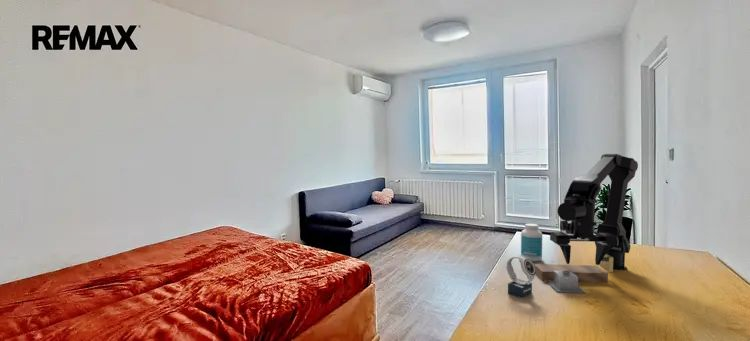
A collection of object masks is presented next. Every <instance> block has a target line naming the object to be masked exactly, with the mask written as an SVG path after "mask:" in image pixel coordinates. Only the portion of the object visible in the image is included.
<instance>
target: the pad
mask: <svg viewBox="0 0 750 341" xmlns="http://www.w3.org/2000/svg"><path fill="white" fill-rule="evenodd" d="M545 282H546V283H547V284H548V286H550V287H551V289H553V290H554V291H555V292H556V293H563V294H564V293H565V294H586V291H585V290H584V289H582V288H581V287H580V286H579V285H578V290H561V289H559V288H558V287H557V286H556V285H555V284H554V283H553V281H545Z"/></svg>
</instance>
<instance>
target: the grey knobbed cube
mask: <svg viewBox="0 0 750 341" xmlns="http://www.w3.org/2000/svg"><path fill="white" fill-rule="evenodd" d="M553 283H554V284H555V285H556V286H557V287H558V288H559V289H561V290H578V286H579V282H578V277H577V276H576V275H575V274H574V273H572V272H571V271H555V270H553Z"/></svg>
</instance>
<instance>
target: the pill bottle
mask: <svg viewBox="0 0 750 341" xmlns="http://www.w3.org/2000/svg"><path fill="white" fill-rule="evenodd" d="M524 228H525V229H523V230H521V233H520V256H523V257H526V258H527V259H529V260H531V261H532V263H534V262H535V263H537V262H541V261H542V259H543V233H542V231H540V230H539V228H540V227H539V224H537V223H525V225H524Z"/></svg>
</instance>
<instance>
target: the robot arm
mask: <svg viewBox="0 0 750 341" xmlns="http://www.w3.org/2000/svg"><path fill="white" fill-rule="evenodd" d="M638 168H639V163H638V161H636V160H635V159H634V158H633V157H627V156H623V155H621V154H618V153H604V154H602V155H601V157H600V159H599V160H598V161H597V162H596V163H595V164H594V165H593V167H592V168H590V170H589V171H588V172H587V173H585V174H581V175H579V176H577V177H575V178H574V179H573V180H572V181H571V183H570V185H569V187H568V190H567V192H566V194H565V196H564V200H563V202H562V203H561V204H559V206H558V207H557V209H556V210H557V212H556V213H557V214H558V217H559V218H560V219H561V220H560V221H559V229H560V231H552V232H551V233H550V235H549V240H550V241H551V242H553V243H554V244H556V245H557V246H559V247H560V249H561V252H562V254H563V257H564V260H565V262H566V265H570V262H571V252H572V251H571V249H572V245H570V243H571V242H593V243H594V244H595V260H594V261H595V266H600V262H601V261H602V259H603V257H604V256H605V255H606V254H608V255H609V256H611V257H613V270H628V267H627V266H625V262H626V254H629V253H630V252H631V243H630V242H629V240H628V238H627V234H626V233H627V231H626V229H625V227H624V225H623V216H624V209H625V202H626V197H627V191H628V184H629V183H630V182H631V181H632V180H633V179H634V177H635V175H636V172H637V171H638ZM607 177H609V179H610V181H611V182H610V188H609V194H608V201H607V208H606V213H605V219H604V221H603V222H602V223H599V224H598V225H597V222H596V221H595V210H596V208H595V207H596V204H597V203H598V200H597V197H598V195H600V194H599V193H600V192H601V190H602V186H601V184H602V183H603V181H604V180H605V179H606V178H607ZM570 221H571V222H570ZM569 222H570V223H569ZM595 226H597V228H596V229H597V230H596V234H595ZM563 231H565V232H563Z"/></svg>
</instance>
